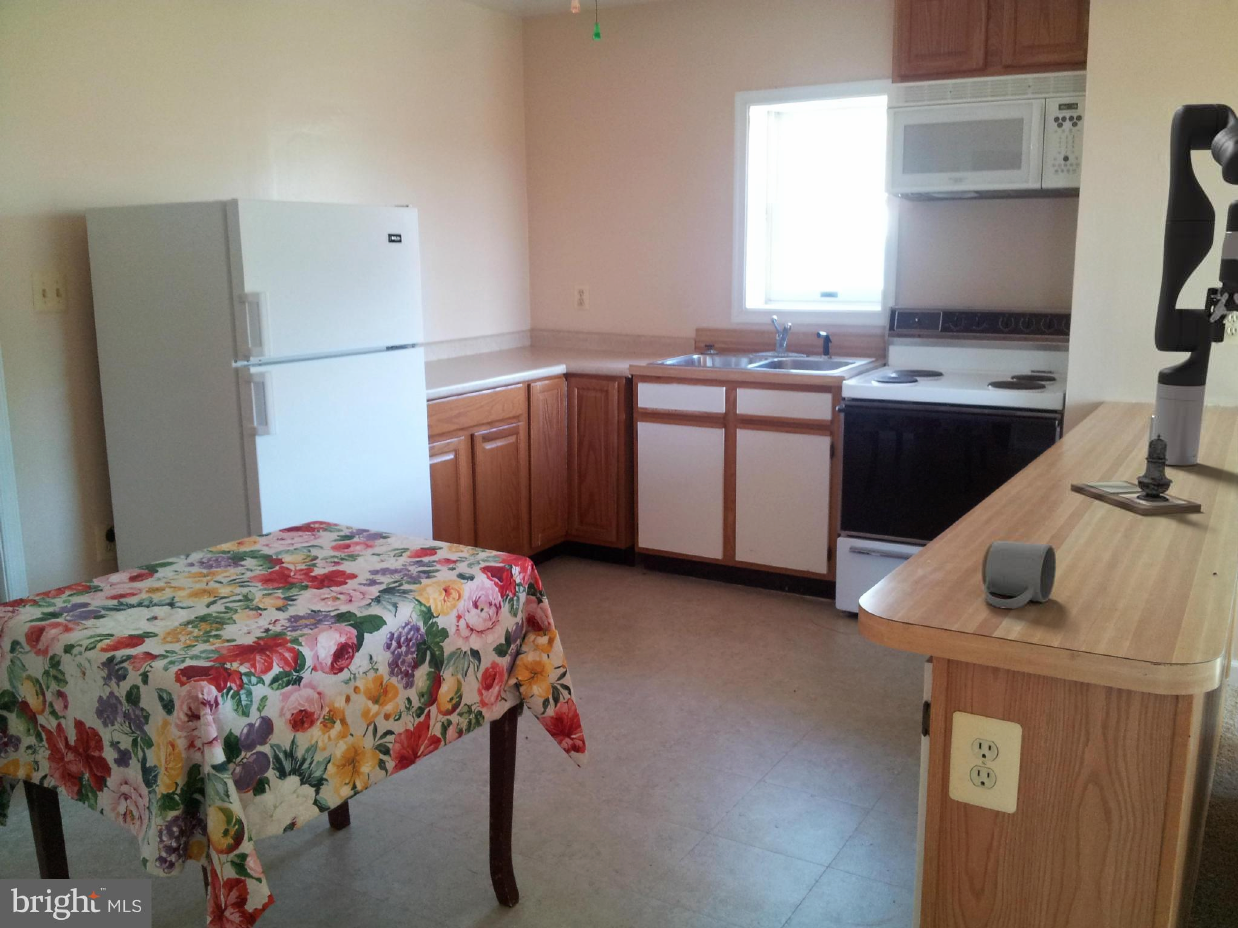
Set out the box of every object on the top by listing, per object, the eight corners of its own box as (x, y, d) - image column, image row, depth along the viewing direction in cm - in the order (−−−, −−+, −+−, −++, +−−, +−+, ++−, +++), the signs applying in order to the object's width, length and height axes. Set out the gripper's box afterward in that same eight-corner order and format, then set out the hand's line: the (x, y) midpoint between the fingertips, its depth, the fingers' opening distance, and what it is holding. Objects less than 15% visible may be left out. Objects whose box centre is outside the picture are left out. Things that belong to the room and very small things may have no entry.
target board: (1070, 489, 200) (1071, 482, 199) (1124, 486, 202) (1125, 479, 202) (1141, 515, 181) (1142, 507, 180) (1200, 511, 183) (1201, 503, 183)
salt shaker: (1175, 503, 183) (1182, 437, 181) (1139, 501, 184) (1146, 436, 182) (1164, 495, 189) (1171, 431, 186) (1130, 494, 190) (1136, 430, 187)
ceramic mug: (994, 582, 145) (997, 530, 143) (1055, 593, 140) (1059, 539, 138) (969, 604, 137) (972, 549, 135) (1033, 617, 132) (1037, 559, 130)
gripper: (1293, 257, 184) (1282, 347, 188) (1231, 256, 198) (1222, 340, 201) (1258, 257, 183) (1247, 348, 186) (1198, 256, 197) (1189, 341, 200)
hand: (1234, 344), depth 194 cm, fingers open, 8 cm apart
